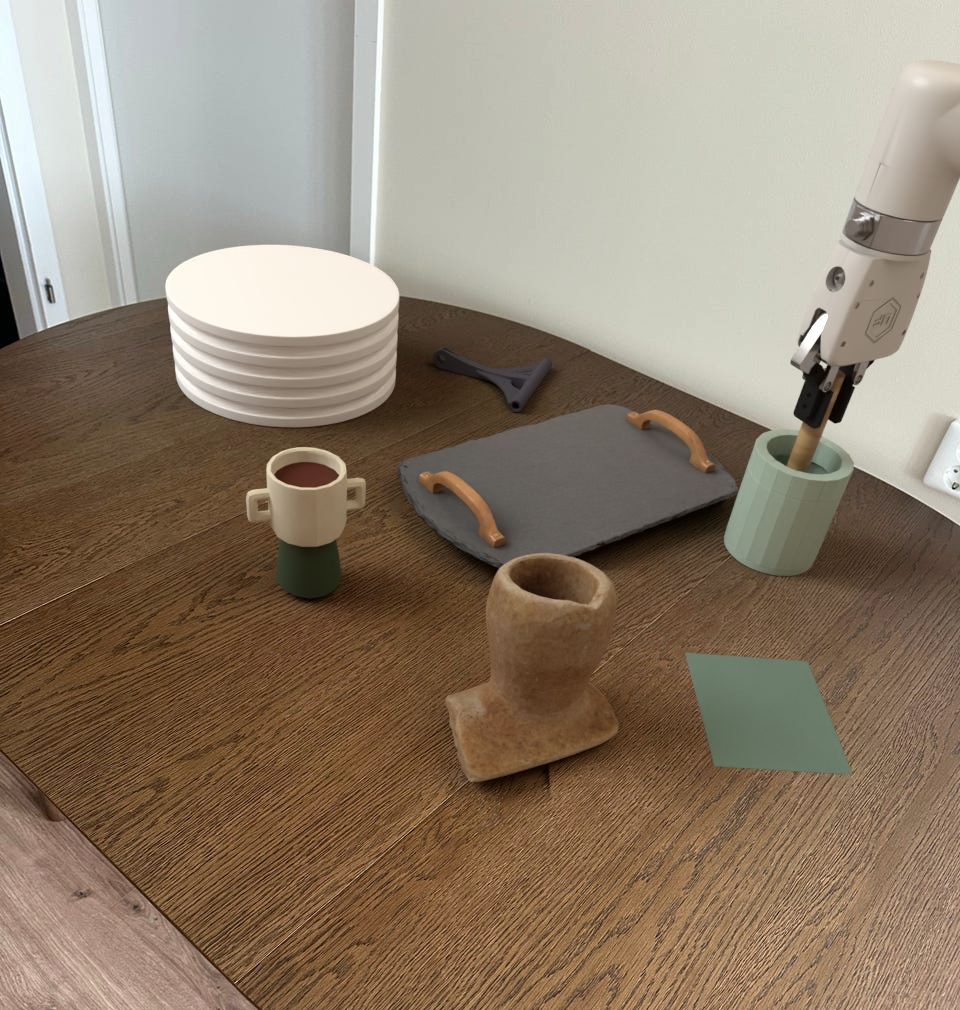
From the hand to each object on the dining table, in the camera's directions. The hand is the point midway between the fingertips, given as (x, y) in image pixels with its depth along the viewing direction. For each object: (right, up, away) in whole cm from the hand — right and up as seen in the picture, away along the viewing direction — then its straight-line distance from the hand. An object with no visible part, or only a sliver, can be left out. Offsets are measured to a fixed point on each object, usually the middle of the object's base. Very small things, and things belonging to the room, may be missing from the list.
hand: (816, 418), depth 94 cm
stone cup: (-30, -29, -13) cm, 44 cm away
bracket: (-33, +13, +34) cm, 49 cm away
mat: (-8, -29, -9) cm, 31 cm away
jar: (-2, -12, +11) cm, 16 cm away
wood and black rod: (-1, -8, +7) cm, 11 cm away
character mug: (-50, -17, -2) cm, 53 cm away
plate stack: (-59, +13, +29) cm, 67 cm away
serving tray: (-23, -6, +14) cm, 28 cm away
